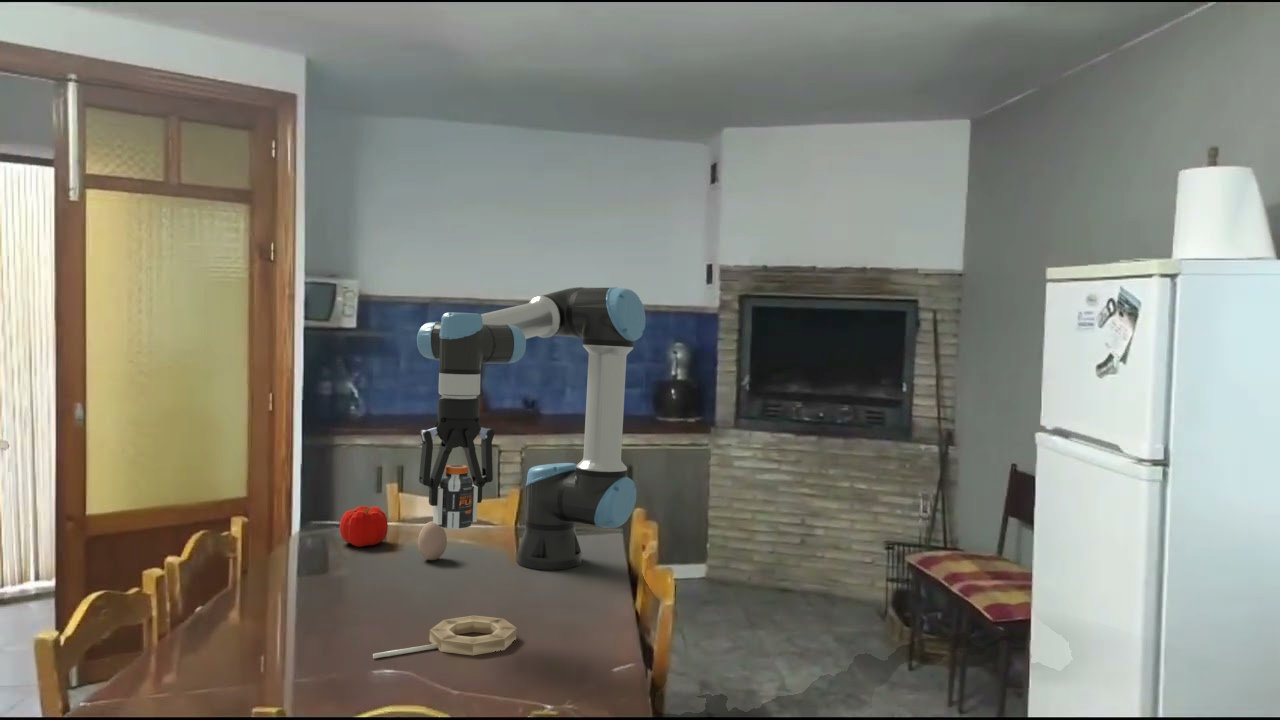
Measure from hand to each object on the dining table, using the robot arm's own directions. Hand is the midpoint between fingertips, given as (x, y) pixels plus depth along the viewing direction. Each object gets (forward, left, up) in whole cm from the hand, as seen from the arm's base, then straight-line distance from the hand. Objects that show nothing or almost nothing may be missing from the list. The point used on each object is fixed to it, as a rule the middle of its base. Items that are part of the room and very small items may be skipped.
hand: (454, 521), depth 173 cm
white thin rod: (+12, +10, -19) cm, 25 cm away
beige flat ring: (0, +9, -19) cm, 21 cm away
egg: (-12, -46, -20) cm, 52 cm away
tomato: (-2, -67, -20) cm, 70 cm away
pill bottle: (0, 0, -1) cm, 1 cm away
